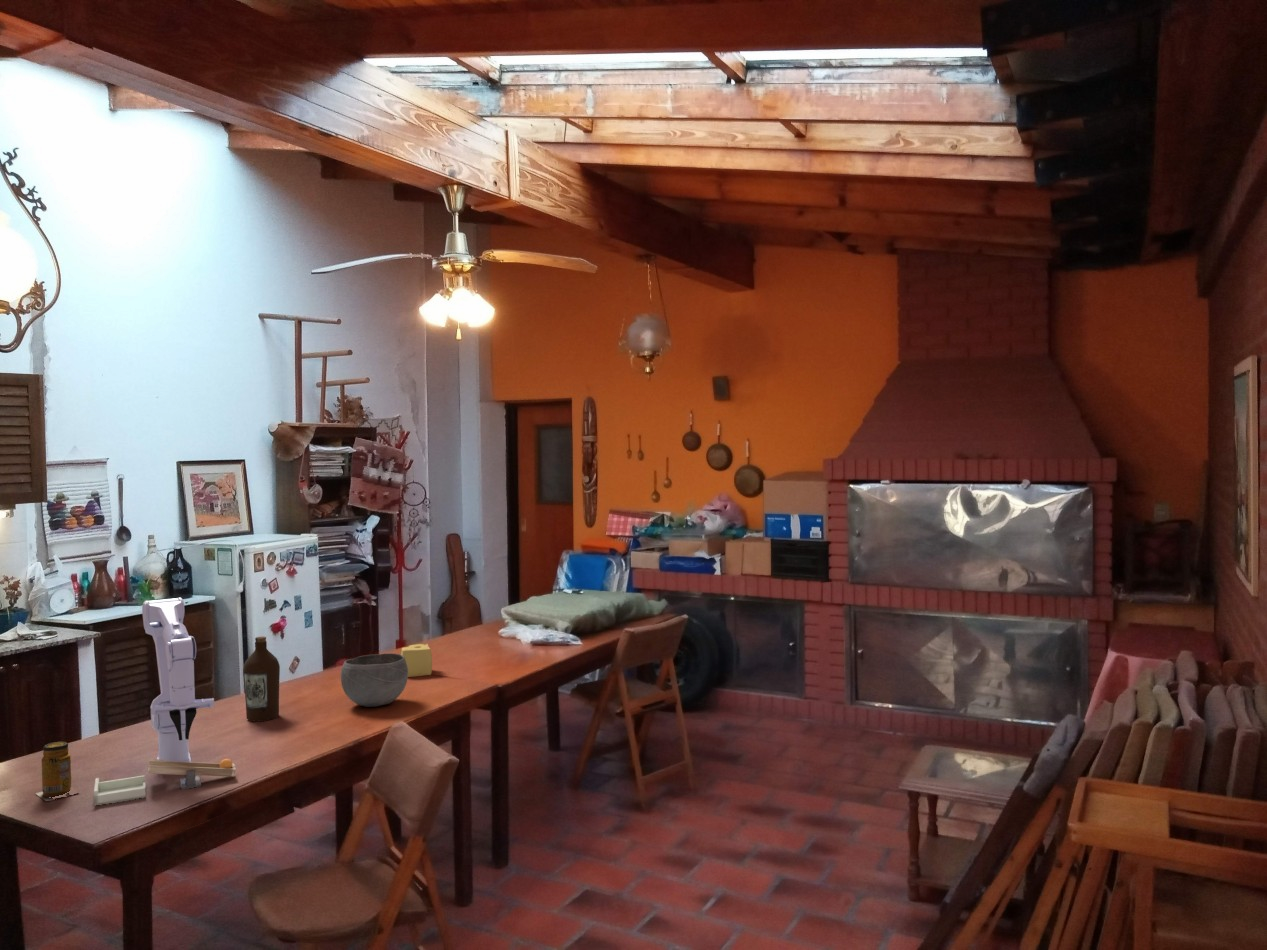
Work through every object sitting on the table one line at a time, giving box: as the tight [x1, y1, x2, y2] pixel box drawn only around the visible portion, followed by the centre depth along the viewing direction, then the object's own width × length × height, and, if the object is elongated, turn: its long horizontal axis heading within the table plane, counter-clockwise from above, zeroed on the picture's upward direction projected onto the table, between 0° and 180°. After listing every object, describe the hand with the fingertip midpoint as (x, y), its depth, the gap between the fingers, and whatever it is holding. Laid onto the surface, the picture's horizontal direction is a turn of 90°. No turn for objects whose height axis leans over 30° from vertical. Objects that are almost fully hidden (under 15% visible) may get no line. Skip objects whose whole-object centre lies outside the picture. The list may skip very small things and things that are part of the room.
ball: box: [219, 758, 233, 768], centre depth 243 cm, size 3×3×3 cm
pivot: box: [179, 770, 202, 790], centre depth 239 cm, size 7×4×4 cm, turn 27°
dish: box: [93, 775, 147, 807], centre depth 232 cm, size 10×11×4 cm
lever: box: [147, 758, 237, 777], centre depth 242 cm, size 11×20×2 cm, turn 118°
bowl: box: [340, 652, 409, 708], centre depth 311 cm, size 21×21×15 cm
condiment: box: [35, 741, 72, 802], centre depth 233 cm, size 7×8×12 cm
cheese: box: [400, 643, 433, 678], centre depth 354 cm, size 10×11×10 cm
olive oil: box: [242, 636, 281, 722], centre depth 298 cm, size 11×11×25 cm
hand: (183, 738), depth 244 cm, fingers closed
